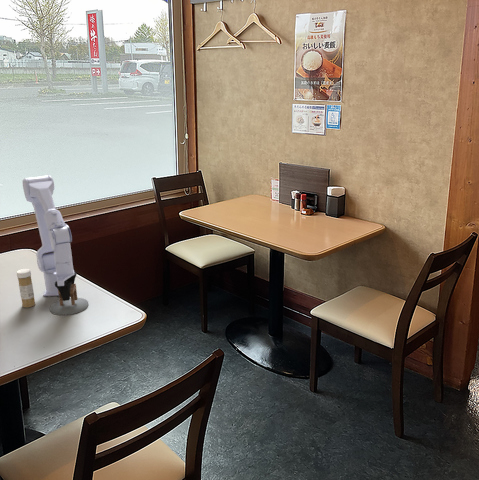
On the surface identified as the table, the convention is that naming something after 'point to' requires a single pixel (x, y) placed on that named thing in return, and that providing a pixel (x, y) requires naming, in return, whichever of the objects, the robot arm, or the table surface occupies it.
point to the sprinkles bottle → (26, 287)
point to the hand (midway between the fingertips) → (68, 296)
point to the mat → (69, 307)
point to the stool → (72, 294)
